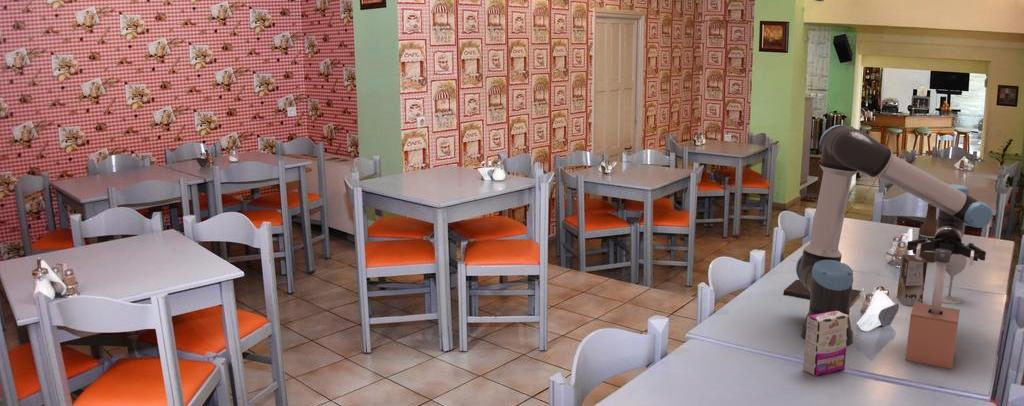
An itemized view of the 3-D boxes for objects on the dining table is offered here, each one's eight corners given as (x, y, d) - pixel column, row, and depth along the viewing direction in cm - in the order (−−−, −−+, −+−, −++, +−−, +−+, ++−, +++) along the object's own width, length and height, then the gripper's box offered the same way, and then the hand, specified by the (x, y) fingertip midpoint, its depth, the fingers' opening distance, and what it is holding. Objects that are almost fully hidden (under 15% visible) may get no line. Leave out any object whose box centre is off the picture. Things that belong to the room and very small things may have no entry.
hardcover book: (795, 285, 304) (796, 279, 303) (860, 296, 291) (861, 290, 290) (783, 296, 291) (783, 290, 290) (850, 309, 278) (851, 302, 278)
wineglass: (963, 300, 286) (971, 243, 282) (957, 305, 281) (965, 247, 276) (940, 295, 291) (947, 239, 287) (934, 300, 286) (941, 243, 281)
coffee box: (922, 306, 279) (928, 262, 276) (902, 305, 281) (908, 260, 277) (915, 298, 288) (920, 254, 285) (896, 296, 289) (901, 253, 286)
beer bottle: (937, 259, 337) (944, 203, 332) (935, 263, 331) (942, 206, 326) (916, 256, 341) (923, 201, 336) (914, 260, 335) (921, 204, 330)
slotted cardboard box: (909, 346, 244) (914, 302, 241) (953, 354, 238) (959, 309, 235) (905, 359, 234) (910, 314, 231) (951, 368, 228) (958, 322, 225)
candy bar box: (831, 363, 231) (836, 309, 228) (844, 370, 227) (850, 315, 223) (801, 370, 227) (806, 314, 223) (814, 377, 222) (819, 320, 219)
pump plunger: (927, 318, 237) (936, 247, 232) (942, 320, 235) (951, 249, 230) (925, 326, 230) (934, 253, 226) (940, 328, 228) (950, 256, 224)
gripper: (993, 258, 241) (993, 276, 223) (901, 246, 253) (894, 262, 235) (996, 234, 239) (996, 250, 221) (904, 223, 251) (897, 238, 233)
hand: (944, 257), depth 228 cm, fingers open, 13 cm apart
